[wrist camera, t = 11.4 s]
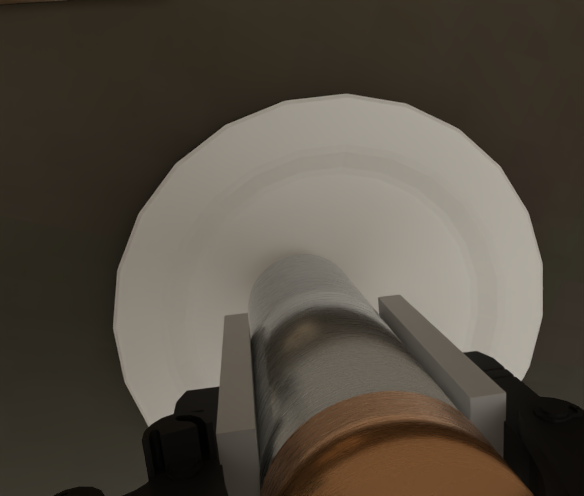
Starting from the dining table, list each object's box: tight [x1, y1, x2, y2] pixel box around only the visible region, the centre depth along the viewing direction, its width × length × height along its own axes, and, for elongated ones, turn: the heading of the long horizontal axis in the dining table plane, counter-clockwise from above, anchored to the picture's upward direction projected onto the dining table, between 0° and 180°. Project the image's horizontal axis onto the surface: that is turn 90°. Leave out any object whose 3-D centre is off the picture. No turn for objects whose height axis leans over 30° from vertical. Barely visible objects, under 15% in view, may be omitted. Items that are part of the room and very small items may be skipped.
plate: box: [113, 94, 543, 427], centre depth 24 cm, size 21×21×2 cm
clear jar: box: [248, 254, 534, 496], centre depth 13 cm, size 4×4×13 cm
